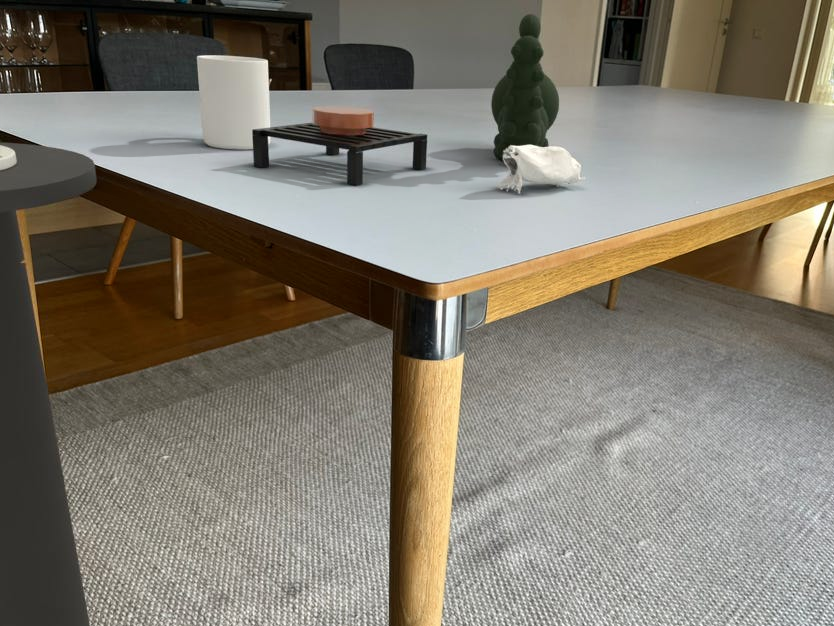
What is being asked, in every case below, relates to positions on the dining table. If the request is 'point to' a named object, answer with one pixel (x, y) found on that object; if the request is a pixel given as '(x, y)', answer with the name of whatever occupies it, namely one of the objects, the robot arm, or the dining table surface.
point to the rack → (340, 145)
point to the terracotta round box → (343, 120)
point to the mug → (233, 99)
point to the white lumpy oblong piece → (539, 166)
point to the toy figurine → (524, 94)
